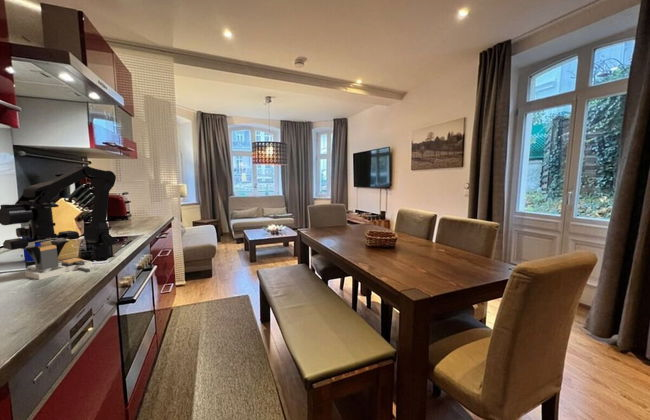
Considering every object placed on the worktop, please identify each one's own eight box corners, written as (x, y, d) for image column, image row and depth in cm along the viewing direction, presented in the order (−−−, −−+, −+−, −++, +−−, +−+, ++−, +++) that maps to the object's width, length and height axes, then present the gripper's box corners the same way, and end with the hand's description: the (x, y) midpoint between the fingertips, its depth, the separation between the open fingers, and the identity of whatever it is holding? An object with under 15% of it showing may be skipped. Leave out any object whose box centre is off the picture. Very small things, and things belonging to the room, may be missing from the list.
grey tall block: (51, 264, 102) (49, 244, 101) (58, 266, 101) (56, 245, 100) (35, 268, 98) (33, 247, 97) (42, 269, 96) (40, 248, 95)
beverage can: (46, 259, 117) (42, 225, 115) (32, 263, 112) (27, 228, 110) (35, 258, 118) (31, 225, 116) (21, 262, 113) (16, 227, 111)
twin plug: (76, 266, 109) (75, 257, 109) (95, 270, 105) (94, 261, 105) (62, 269, 105) (61, 260, 105) (81, 273, 101) (80, 264, 101)
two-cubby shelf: (78, 263, 112) (78, 258, 112) (92, 266, 109) (91, 261, 109) (25, 276, 97) (24, 271, 97) (39, 280, 94) (38, 274, 94)
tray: (57, 262, 113) (56, 259, 113) (69, 265, 110) (69, 262, 110) (27, 269, 105) (27, 266, 105) (40, 272, 102) (40, 269, 102)
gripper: (61, 215, 109) (65, 252, 110) (-8, 223, 91) (-2, 266, 93) (78, 217, 105) (82, 256, 107) (9, 225, 87) (15, 271, 89)
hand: (46, 261), depth 99 cm, fingers closed on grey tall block, 4 cm apart
